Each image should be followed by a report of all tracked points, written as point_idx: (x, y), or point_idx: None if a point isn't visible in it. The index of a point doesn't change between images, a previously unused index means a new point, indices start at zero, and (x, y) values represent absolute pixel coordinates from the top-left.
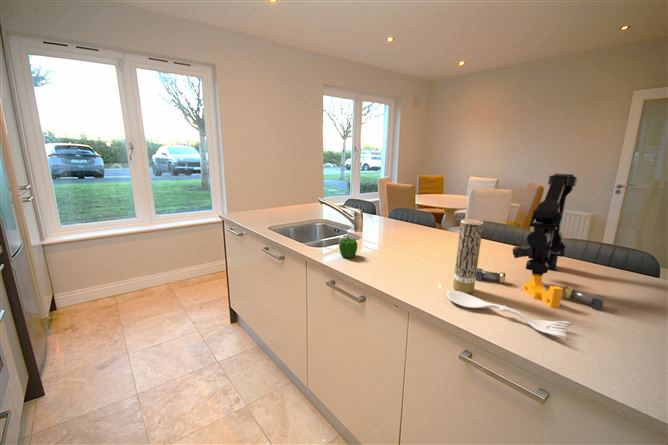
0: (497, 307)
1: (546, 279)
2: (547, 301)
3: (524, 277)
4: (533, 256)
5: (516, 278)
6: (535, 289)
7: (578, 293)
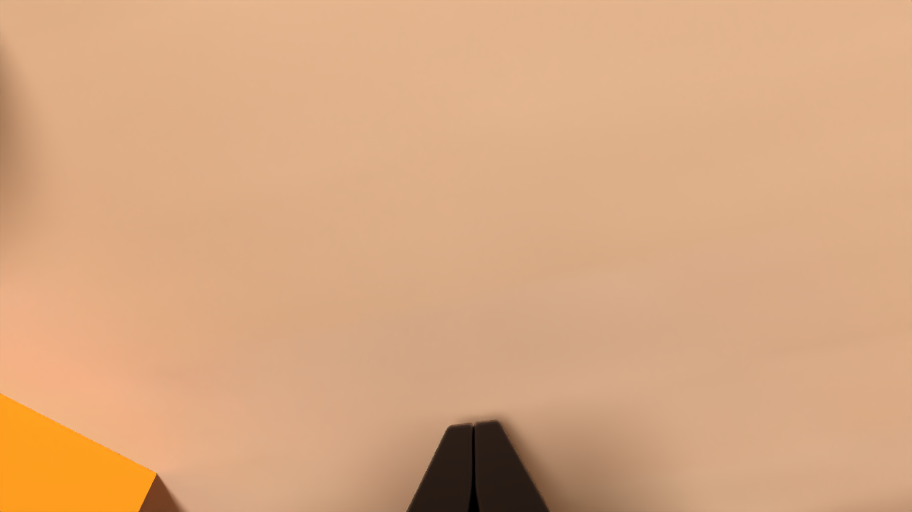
0: None
1: (901, 464)
2: None
3: (771, 168)
4: None
5: (525, 33)
6: None
7: None
